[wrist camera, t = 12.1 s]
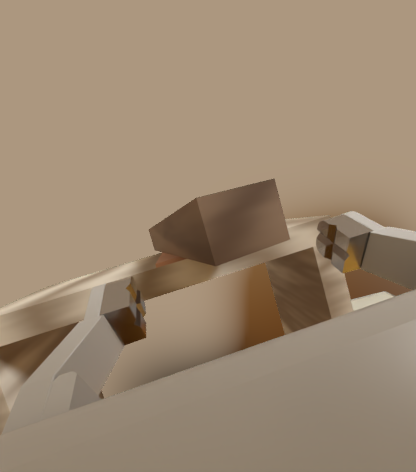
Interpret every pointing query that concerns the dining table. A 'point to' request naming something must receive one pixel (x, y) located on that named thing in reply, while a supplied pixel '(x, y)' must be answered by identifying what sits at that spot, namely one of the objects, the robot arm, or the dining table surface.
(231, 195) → the bar
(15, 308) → the shelf
